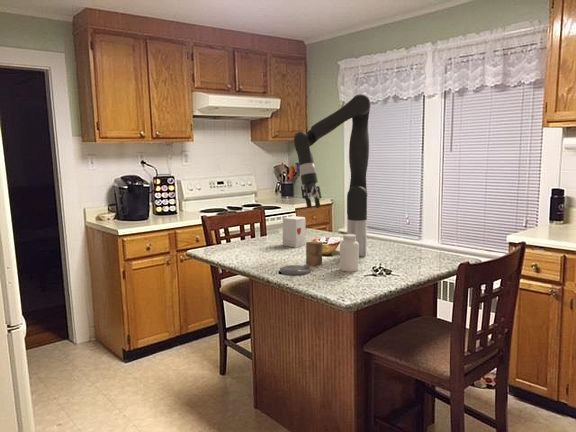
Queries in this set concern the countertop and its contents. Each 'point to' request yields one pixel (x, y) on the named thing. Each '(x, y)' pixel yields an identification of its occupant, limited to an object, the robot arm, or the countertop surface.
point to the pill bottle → (349, 253)
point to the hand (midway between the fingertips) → (313, 207)
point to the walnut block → (314, 253)
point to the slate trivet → (295, 270)
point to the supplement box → (294, 231)
